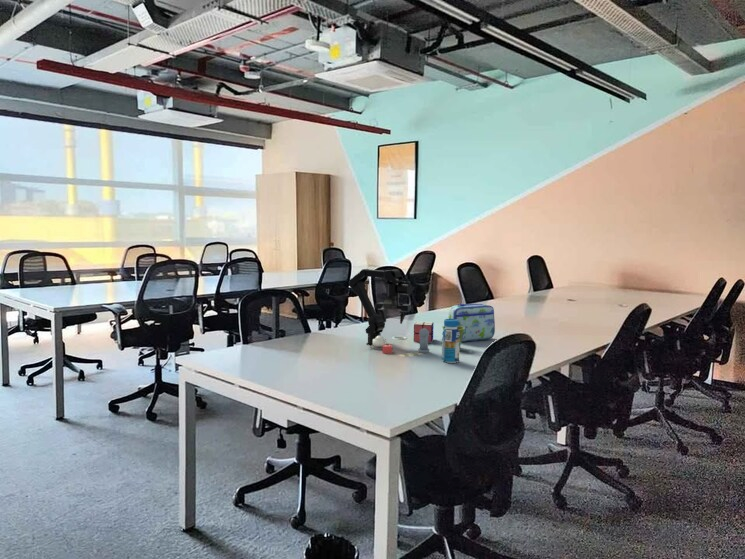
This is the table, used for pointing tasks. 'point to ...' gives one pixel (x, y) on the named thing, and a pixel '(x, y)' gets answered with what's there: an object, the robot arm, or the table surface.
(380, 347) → the dome base
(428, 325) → the puzzle cube
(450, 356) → the beverage bottle
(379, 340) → the dome
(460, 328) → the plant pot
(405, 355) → the game board
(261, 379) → the table surface
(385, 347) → the red die
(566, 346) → the table surface
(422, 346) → the pawn
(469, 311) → the lunch box
